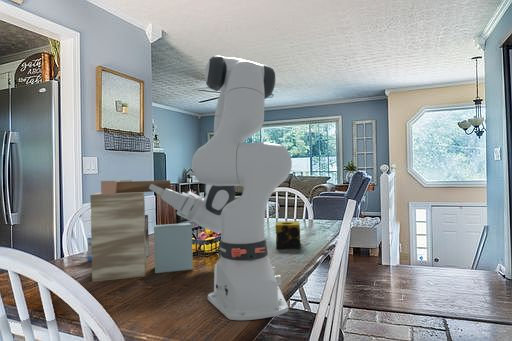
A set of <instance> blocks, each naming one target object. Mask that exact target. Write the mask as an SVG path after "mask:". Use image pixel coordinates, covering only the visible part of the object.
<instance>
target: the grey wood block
mask: <svg viewBox="0 0 512 341" xmlns="http://www.w3.org/2000/svg"><path fill="white" fill-rule="evenodd" d="M89 198H90V199H89V200H90V234H91V235H90V237H91V245H92V261H91V278H92V281H91V282H92V283H93V282H94V283H95V282H106V281H113V280H114V281H115V280H124V279H132V278H141V277H143V278H144V277H145V276H146V267H147V257H146V242H145V215H146V210H145V209H146V208H145V206H146V205H145V192H131V193H116V194H101V192H96V193H91V194H90V195H89Z"/></svg>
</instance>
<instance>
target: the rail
mask: <svg viewBox="0 0 512 341" xmlns="http://www.w3.org/2000/svg"><path fill="white" fill-rule="evenodd" d="M151 184H153V185H155V186H157V187H160V188H162V189H164V190H165V188H168V189H171V180H167V179H165V180H164V179H163V180H138V181H137V180H136V181H135V180H134V181H133V180H132V181H130V182H118V181H117V193H131V192H144V193H151V192H153V193H155V192H154V191H152V190H150V189H149V186H150V185H151Z"/></svg>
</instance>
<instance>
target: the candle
mask: <svg viewBox="0 0 512 341" xmlns="http://www.w3.org/2000/svg"><path fill="white" fill-rule="evenodd" d="M275 234H276V237H275V247H276V248H275V249H278V250H291V249H292V250H294V249H295V250H297V249H301V226H300V221H299V220H296V221H295V220H294V221H290V220H288V221H286V220H285V221H283V220H282V221H276V222H275Z"/></svg>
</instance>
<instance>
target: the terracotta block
mask: <svg viewBox="0 0 512 341" xmlns="http://www.w3.org/2000/svg"><path fill="white" fill-rule="evenodd" d="M117 182H118V180H101V181H100V193H101V194H116V193H117Z"/></svg>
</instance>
